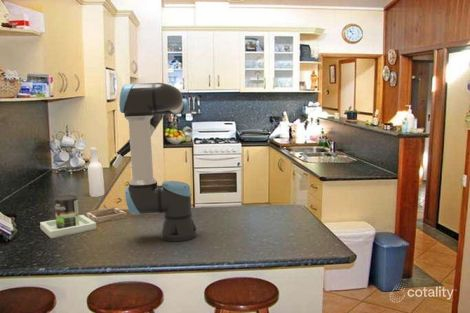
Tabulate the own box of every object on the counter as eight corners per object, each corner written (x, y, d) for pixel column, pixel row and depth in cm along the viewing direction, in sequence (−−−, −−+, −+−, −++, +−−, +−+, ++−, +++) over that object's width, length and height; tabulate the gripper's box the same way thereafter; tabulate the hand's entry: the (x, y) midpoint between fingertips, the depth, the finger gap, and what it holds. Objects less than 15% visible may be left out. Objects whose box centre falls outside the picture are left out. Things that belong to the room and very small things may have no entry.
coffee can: (67, 231, 205) (64, 200, 203) (51, 229, 210) (48, 199, 208) (85, 225, 214) (82, 196, 212) (69, 223, 219) (66, 194, 217)
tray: (96, 229, 210) (96, 223, 209) (51, 238, 198) (50, 231, 198) (83, 220, 226) (82, 214, 226) (40, 228, 215) (39, 222, 214)
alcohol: (86, 197, 281) (82, 148, 277) (95, 193, 290) (91, 146, 286) (99, 197, 279) (95, 148, 275) (107, 194, 287) (103, 146, 283)
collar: (126, 217, 229) (126, 212, 228) (96, 223, 220) (95, 218, 220) (115, 211, 241) (115, 207, 241) (86, 217, 233) (86, 212, 232)
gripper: (165, 138, 226) (144, 173, 216) (133, 137, 242) (112, 170, 232) (156, 128, 221) (134, 164, 212) (124, 128, 237) (102, 161, 227)
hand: (123, 167), depth 222 cm, fingers open, 13 cm apart
